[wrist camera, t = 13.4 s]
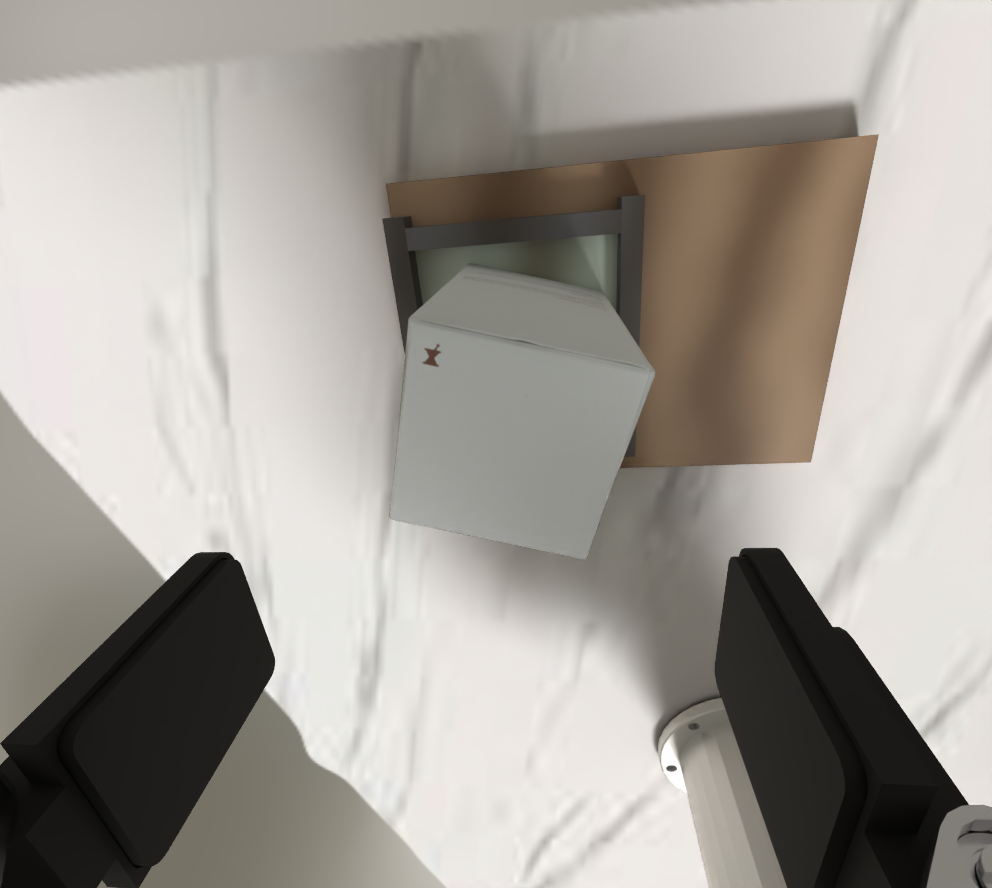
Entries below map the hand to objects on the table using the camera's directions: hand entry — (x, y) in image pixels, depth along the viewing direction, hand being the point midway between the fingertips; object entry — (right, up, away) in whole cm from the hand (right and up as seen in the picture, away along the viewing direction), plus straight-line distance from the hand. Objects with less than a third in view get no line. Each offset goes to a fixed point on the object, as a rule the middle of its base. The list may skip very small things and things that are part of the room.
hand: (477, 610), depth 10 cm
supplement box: (+2, +9, +18) cm, 20 cm away
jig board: (+7, +10, +18) cm, 22 cm away
